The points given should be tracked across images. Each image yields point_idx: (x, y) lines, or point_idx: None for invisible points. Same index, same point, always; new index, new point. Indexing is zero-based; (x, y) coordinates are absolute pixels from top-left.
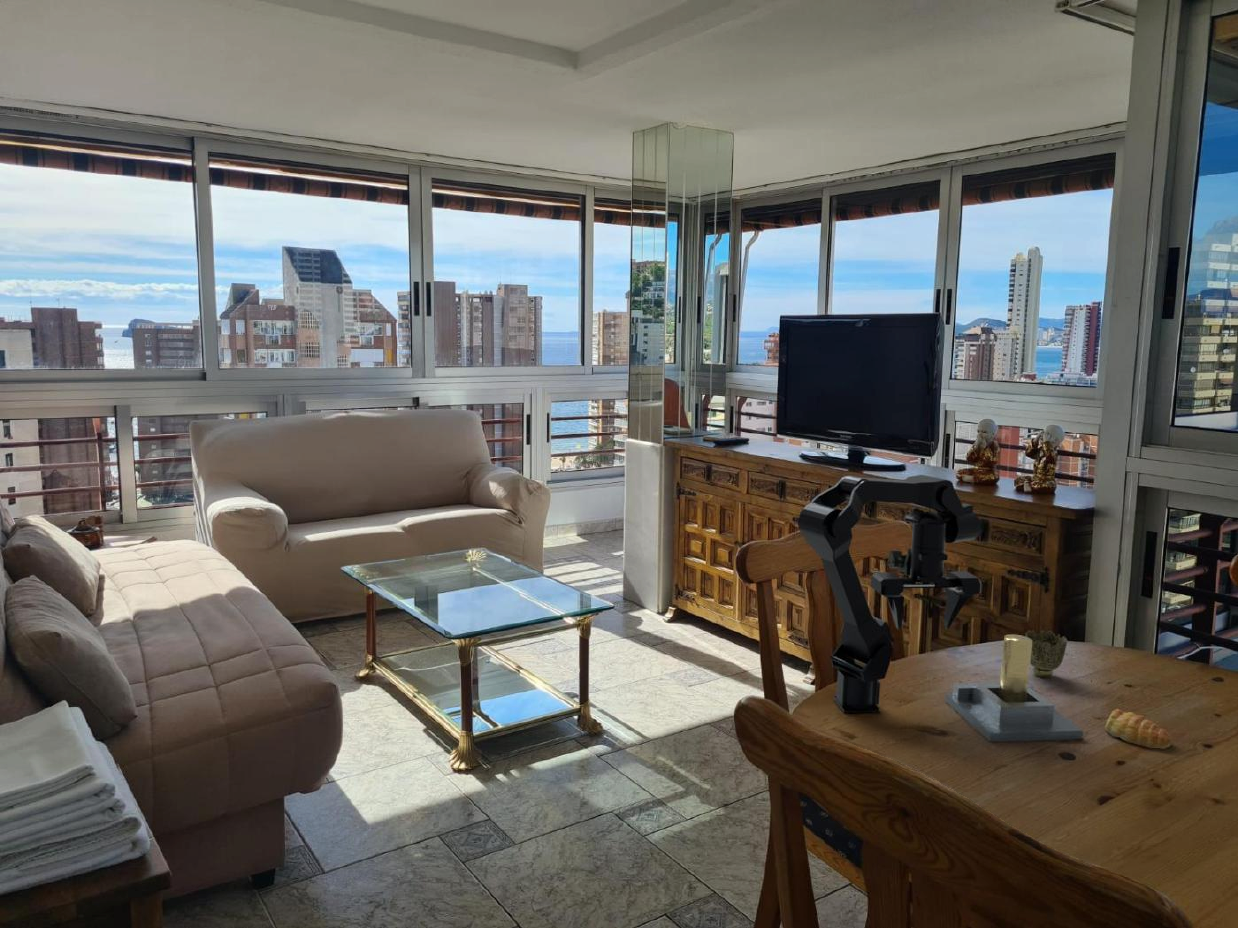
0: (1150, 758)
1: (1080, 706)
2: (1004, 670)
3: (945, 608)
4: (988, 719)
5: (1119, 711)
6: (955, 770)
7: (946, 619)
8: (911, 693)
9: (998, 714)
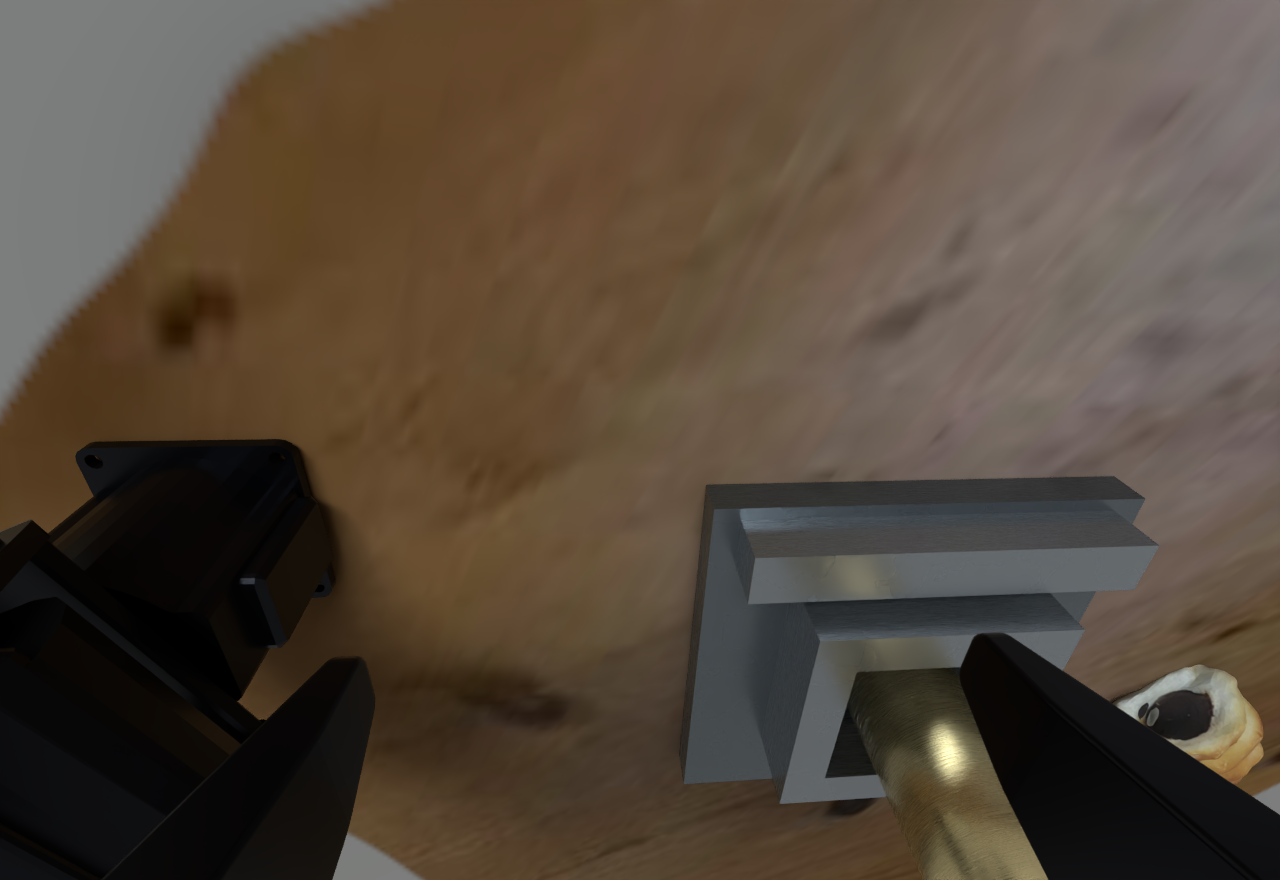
0: None
1: (1245, 541)
2: (920, 868)
3: (1213, 847)
4: (743, 712)
5: (1210, 759)
6: (488, 862)
7: (1034, 754)
8: (575, 390)
9: (771, 758)
